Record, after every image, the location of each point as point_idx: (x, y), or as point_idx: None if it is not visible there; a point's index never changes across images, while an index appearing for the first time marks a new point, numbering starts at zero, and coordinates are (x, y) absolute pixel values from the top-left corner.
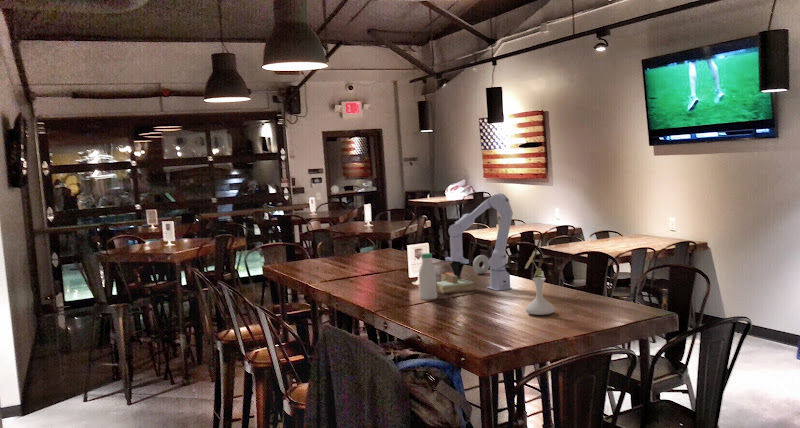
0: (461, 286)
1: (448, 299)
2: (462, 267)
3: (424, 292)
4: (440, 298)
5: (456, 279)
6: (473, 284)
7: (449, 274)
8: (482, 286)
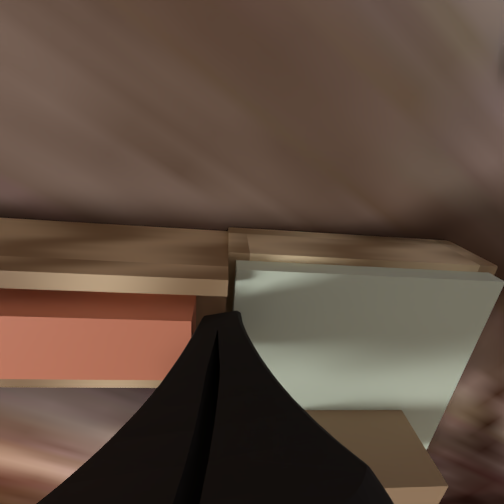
0: None
1: (498, 481)
2: (302, 413)
3: None
4: (444, 496)
5: (418, 453)
6: (486, 268)
7: (38, 376)
8: (389, 49)
